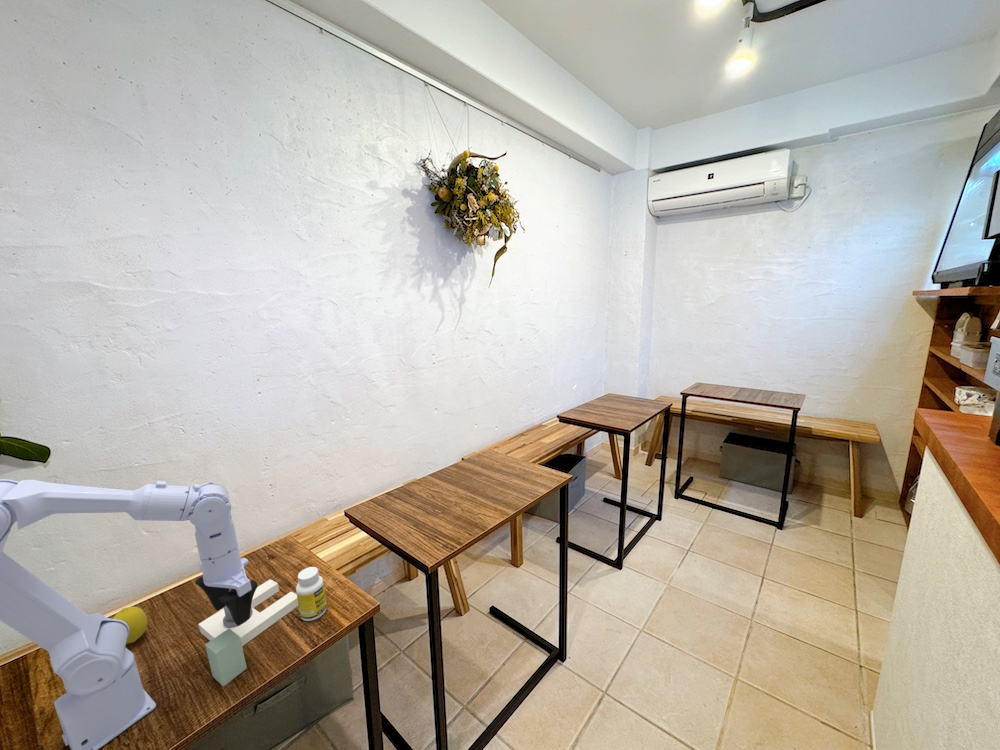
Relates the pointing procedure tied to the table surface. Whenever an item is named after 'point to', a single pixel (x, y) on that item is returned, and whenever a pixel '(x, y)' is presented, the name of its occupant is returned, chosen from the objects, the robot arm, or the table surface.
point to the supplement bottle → (311, 594)
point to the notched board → (251, 615)
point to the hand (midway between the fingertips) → (232, 614)
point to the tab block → (226, 656)
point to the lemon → (133, 622)
